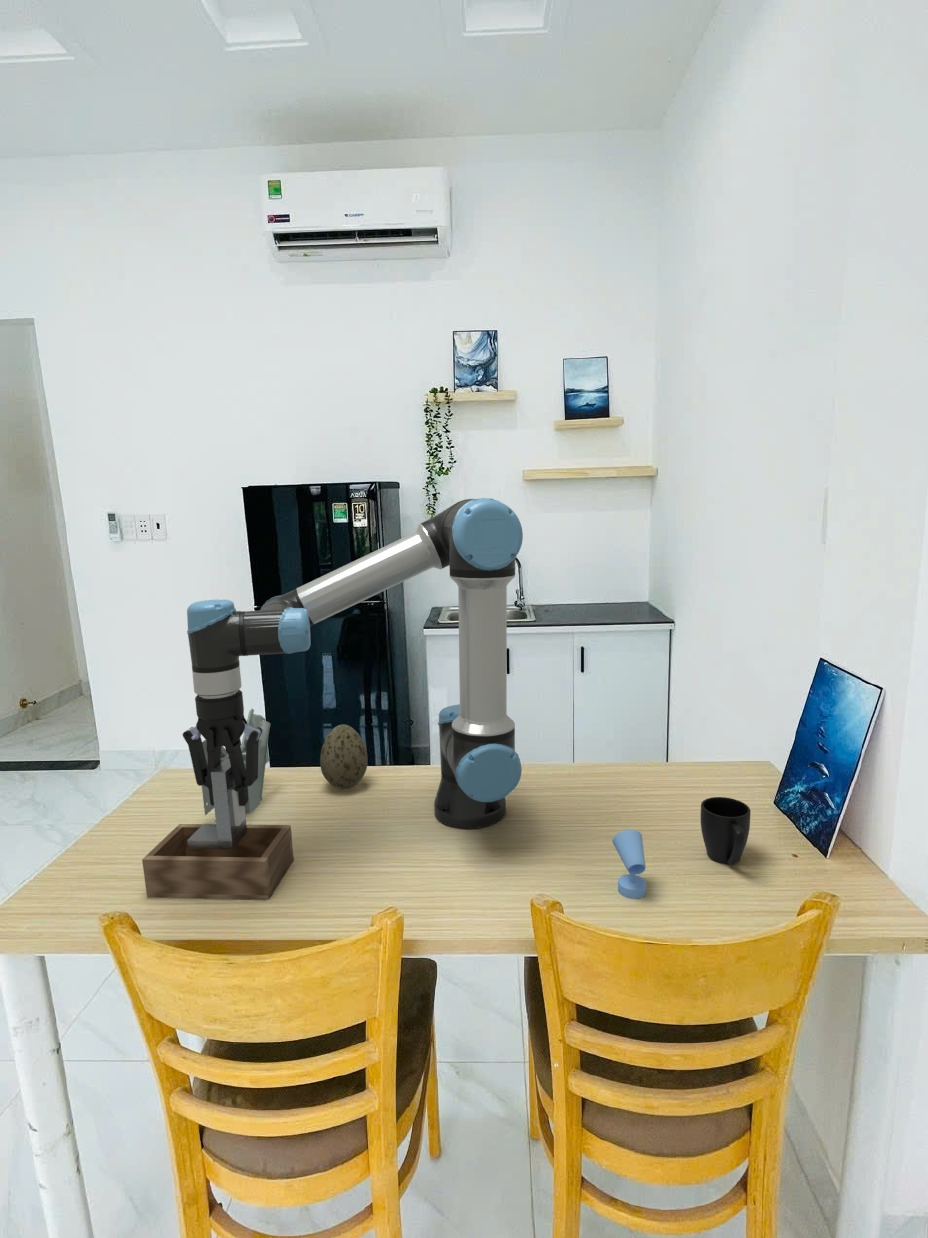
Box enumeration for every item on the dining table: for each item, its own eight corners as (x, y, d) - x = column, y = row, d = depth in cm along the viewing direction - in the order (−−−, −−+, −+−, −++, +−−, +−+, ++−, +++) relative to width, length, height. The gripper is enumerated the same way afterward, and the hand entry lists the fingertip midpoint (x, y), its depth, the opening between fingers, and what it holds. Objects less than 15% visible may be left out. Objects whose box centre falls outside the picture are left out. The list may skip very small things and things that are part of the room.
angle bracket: (247, 831, 119) (240, 758, 117) (232, 849, 114) (225, 772, 111) (204, 831, 120) (196, 758, 118) (187, 848, 114) (179, 771, 112)
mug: (711, 880, 112) (713, 828, 111) (694, 843, 124) (695, 796, 122) (762, 881, 111) (765, 829, 110) (740, 844, 123) (742, 796, 121)
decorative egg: (370, 793, 150) (366, 730, 148) (322, 799, 148) (317, 735, 145) (367, 774, 161) (363, 715, 158) (322, 780, 158) (317, 719, 156)
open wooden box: (293, 859, 123) (290, 825, 122) (268, 899, 111) (264, 861, 110) (183, 858, 125) (179, 823, 124) (147, 897, 113) (142, 859, 112)
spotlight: (610, 878, 114) (622, 902, 107) (611, 824, 112) (622, 845, 105) (639, 876, 114) (652, 900, 107) (639, 822, 112) (653, 843, 106)
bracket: (225, 840, 132) (215, 744, 128) (192, 838, 133) (181, 743, 129) (285, 781, 158) (278, 701, 155) (257, 780, 159) (250, 700, 156)
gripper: (271, 685, 115) (282, 812, 119) (185, 686, 116) (199, 811, 120) (254, 698, 107) (266, 833, 112) (162, 698, 109) (177, 831, 113)
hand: (231, 821), depth 116 cm, fingers closed on angle bracket, 2 cm apart
